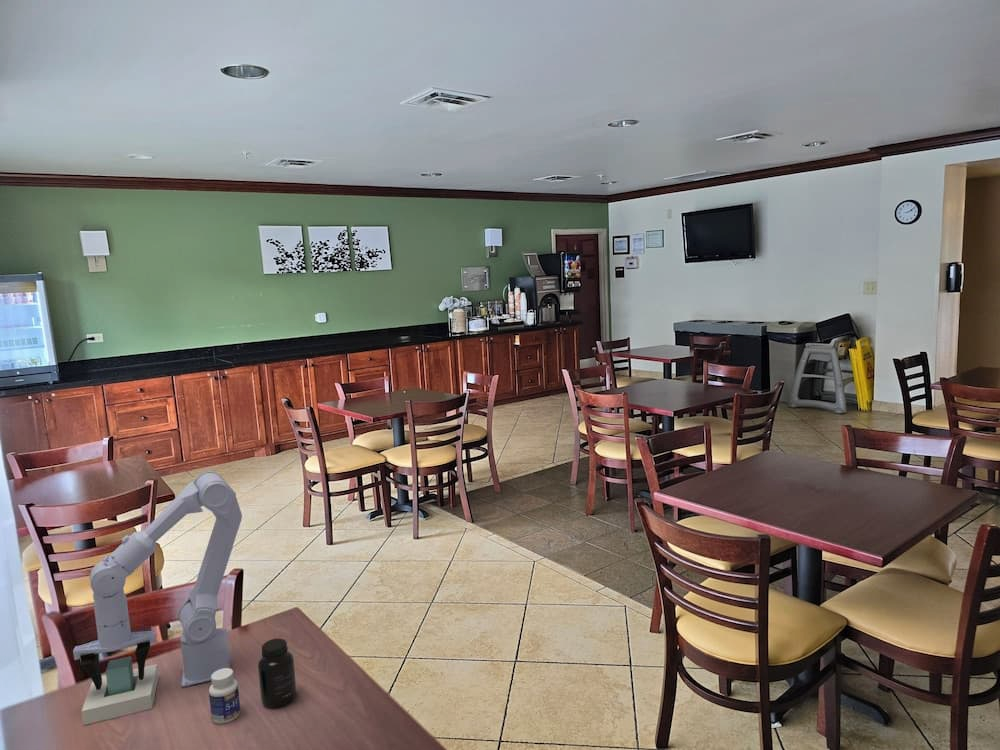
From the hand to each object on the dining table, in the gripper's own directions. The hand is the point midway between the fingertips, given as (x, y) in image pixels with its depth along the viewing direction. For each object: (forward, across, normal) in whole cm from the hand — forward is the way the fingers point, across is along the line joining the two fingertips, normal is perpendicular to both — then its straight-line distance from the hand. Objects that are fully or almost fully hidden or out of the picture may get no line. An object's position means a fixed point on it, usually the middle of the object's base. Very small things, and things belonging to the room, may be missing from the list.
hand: (120, 682), depth 135 cm
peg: (+4, 0, 0) cm, 4 cm away
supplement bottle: (+4, -30, +14) cm, 33 cm away
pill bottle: (+4, -20, +15) cm, 25 cm away
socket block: (+4, 0, 0) cm, 4 cm away
